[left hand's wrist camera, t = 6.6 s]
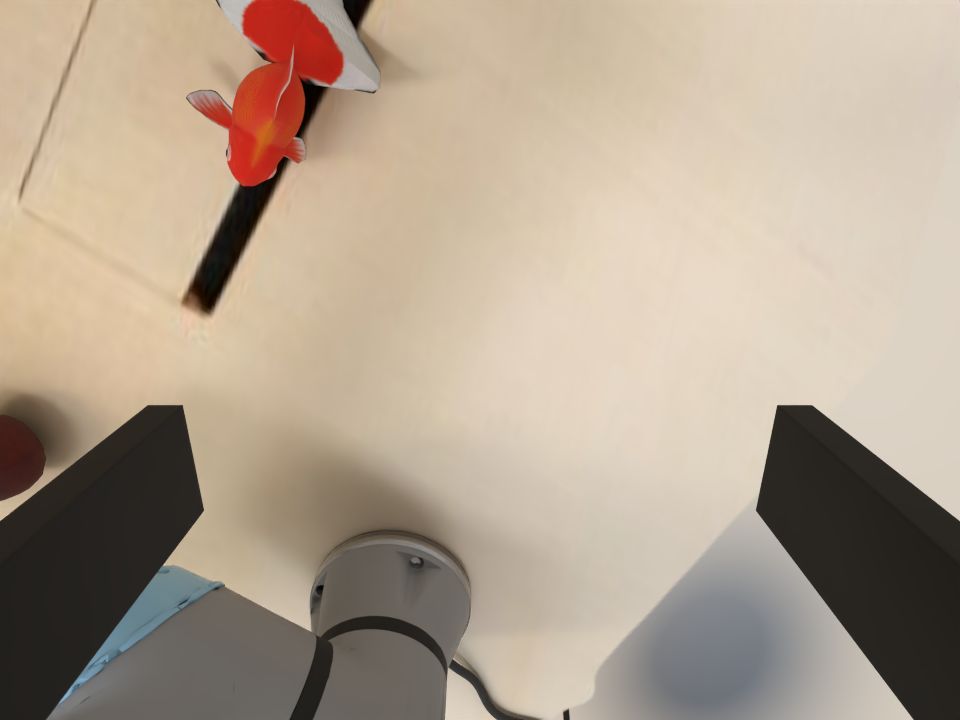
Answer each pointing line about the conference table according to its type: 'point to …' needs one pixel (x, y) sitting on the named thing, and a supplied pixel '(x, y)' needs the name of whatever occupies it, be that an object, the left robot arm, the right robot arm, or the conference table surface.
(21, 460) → the dark maroon plum
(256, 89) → the fish
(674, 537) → the conference table surface
